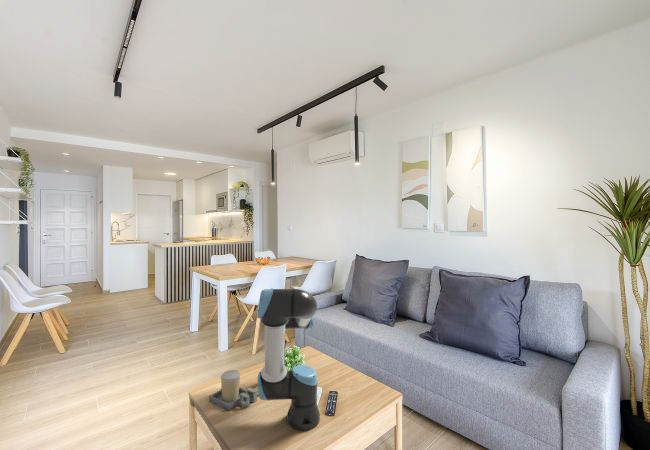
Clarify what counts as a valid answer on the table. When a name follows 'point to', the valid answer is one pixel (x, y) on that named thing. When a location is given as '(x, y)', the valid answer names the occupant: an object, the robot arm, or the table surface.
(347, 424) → the table surface
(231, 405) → the dock tray
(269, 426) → the table surface
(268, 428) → the table surface
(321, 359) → the table surface
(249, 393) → the lock pin
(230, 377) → the coffee cup
